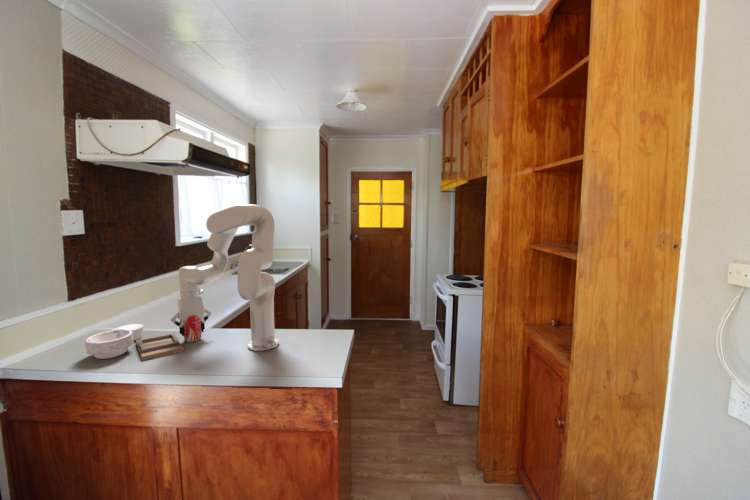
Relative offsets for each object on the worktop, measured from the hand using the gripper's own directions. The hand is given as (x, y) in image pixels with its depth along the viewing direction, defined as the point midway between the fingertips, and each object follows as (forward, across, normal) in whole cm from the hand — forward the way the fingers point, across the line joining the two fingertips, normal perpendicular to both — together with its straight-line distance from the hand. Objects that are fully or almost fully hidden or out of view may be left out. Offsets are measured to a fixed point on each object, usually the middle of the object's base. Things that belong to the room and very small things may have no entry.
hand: (192, 332), depth 154 cm
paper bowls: (+4, +29, -4) cm, 29 cm away
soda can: (+3, 0, 0) cm, 3 cm away
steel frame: (+2, +13, 0) cm, 13 cm away
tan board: (+3, +13, 0) cm, 13 cm away
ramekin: (+4, +22, -20) cm, 30 cm away
